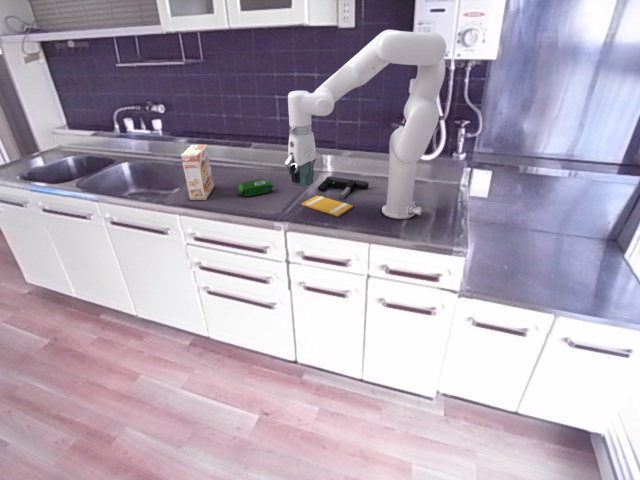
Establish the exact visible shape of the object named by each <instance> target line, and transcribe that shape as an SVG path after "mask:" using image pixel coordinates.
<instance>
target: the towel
mask: <svg viewBox="0 0 640 480" xmlns="http://www.w3.org/2000/svg"><path fill="white" fill-rule="evenodd" d="M301 206H302V207H306V208H309V209H312V210H315V211H319V212H321V213H325V214H328V215H332V216H335V217H340V216H342V215H343V214H345V213H347V212H348V211H350V210H351V209H352V208H353V207H354V205H352V204H350V203H346V202H343V201H338V200H334V199H332V198H328V197H325V196H322V195H315V196H313V197H311V198H309V199H307V200H305V201H303V202H302V203H301Z"/></svg>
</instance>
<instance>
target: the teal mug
mask: <svg viewBox="0 0 640 480" xmlns="http://www.w3.org/2000/svg"><path fill="white" fill-rule="evenodd" d="M295 166H296V165H294V168H295ZM297 172H299V183H294V182H292V184H293V185H294V186H297V187H307V186H310V185H312V184H313V183H314V182H313V181H314V179H313V178H314V176H313V172H314V170H313V171H312V161H311V162H309V163H306V164H303V165H301V166H299V168H298V171H297ZM288 173H289V176H291V172H290V171H289V170H288Z"/></svg>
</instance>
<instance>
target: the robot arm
mask: <svg viewBox="0 0 640 480" xmlns="http://www.w3.org/2000/svg"><path fill="white" fill-rule="evenodd" d="M446 53H447V43H446V40H445V38H444V37H443V36H442V35H441V34H439V33H437V32H430V31H423V32H417V31H405V30H396V29H385V30H383V31H382V32H380V33H379V34H377V35H375V37H374V38H373V39H372V40H371V41H369V43H367V44H366V45H365V46H363V48H362V49H360V50H359V52H357V53H356V54H355V55H354V56H353V57H352V58H350V59H349V60H348V61H347V62H346V63H344V64H343V65H342V66H341V67H340V68H338V70H337V71H336V72H334V73H333V74H332V75H331V76H330V77H328V79H326V80H325V81H324V82H323V83H322V84H320V85H319V86H318V88H317V87H316V89H315V90H314V91H313V92H309V91H308V90H292V91H289V93H288V94H287V107H288V109H287V110H288V125H289V126H288V127H289V128H288V129H289V130H288V133H289V136H288V144H287V145H288V148H287V153H288V158H287V159H286V160H285V162H284V166H285V167H286V168H287V169H288V172H289V171H290V172H291V175H290V178H291V182H292V183H293V182H294V183H299V172H297V171H298V168H299V166H301V165H303V164H306V163H309V162H311V161H312V171H313V177H314V175H315V174H314V167H315V163H316V160H317V156H318V154H319V153H318V151H317V149H316V140H315V136H314V135H315V134H314V132H313V131H312V130H313V127H312V116H317V117H325V116H328V115H330V114H332V112H333V110H334V109H335V103H336V102H338V100H340V99H341V98H342V97H343V96H344V95H346V94H347V93H348V92H351V91H353V90H354V89H356V88H360V87H361V86H363V85H365V84H367V83H368V82H369V81H370V80H371V79H373V78H374V77H375V76H376V75H377V74H379V73H380V71H382V70H383V69H385V68H386V67H387V66H388V65H389V64H395V65H407V66H417V72H416V77H415V81H414V83H413V86H412V88H411V91H410V94H409V96H408V99H407V101H406V103H405V105H404V107H403V117H404V119H405V124H404V126H399V127H397V128H396V129H395V130H394V131H393V132H392V134H391V135H390V139H389V143H388V145H389V147H388V148H389V149H388V150H389V151H388V152H389V154H388V155H389V161H388V177H387V191H386V203H385V204H384V205H383V206H382V207H381V213H382V214H383V215H384V216H386V217H388V218H391V219H396V220H407V219H410V218H412V217H414V216H415V215H418V216H420V215H422V213H423V210H422V207H421V206H417V205H416V201H414V192H415V182H416V174H417V163H418V161H420V160H421V158H422V157H423V156H424V154H425V153H426V150H427V149H428V147H429V144H430V142H431V140H432V138H433V135H434V133H435V131H436V129H437V126H438V123H439V119H440V110H439V107H438V105H437V104H436V101H437V99H438V97H439V94H440V92H441V88H442V86H443V83H444V80H445V75H446V59H445V55H446ZM294 165H296V166H295V168H294Z"/></svg>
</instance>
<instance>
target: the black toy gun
mask: <svg viewBox="0 0 640 480" xmlns="http://www.w3.org/2000/svg"><path fill="white" fill-rule="evenodd" d="M369 185H370V183H369V182H368V181H364V180H358V179H357V180H356V179H351V178H350V179H349V178H343V177H335V176H326V178H325V179H324V180H323V181H322V182H321V183H320V184H319V185H318V186H317V190H319V191H320V192H324V191H326V190H327V189H333V190H334V189H335V190H340V191H341V193H340V194H339V199H342V200H343V199H345V198H346V197H347V196H348V194H350V193H353V192H354V191H355V189H356V188H359V189H369Z"/></svg>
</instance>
